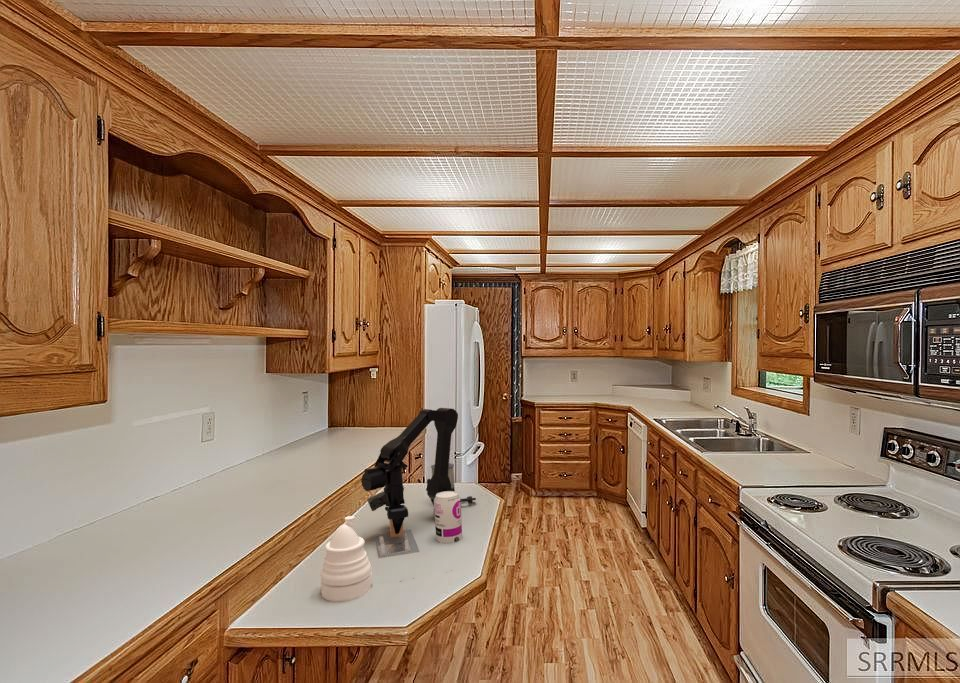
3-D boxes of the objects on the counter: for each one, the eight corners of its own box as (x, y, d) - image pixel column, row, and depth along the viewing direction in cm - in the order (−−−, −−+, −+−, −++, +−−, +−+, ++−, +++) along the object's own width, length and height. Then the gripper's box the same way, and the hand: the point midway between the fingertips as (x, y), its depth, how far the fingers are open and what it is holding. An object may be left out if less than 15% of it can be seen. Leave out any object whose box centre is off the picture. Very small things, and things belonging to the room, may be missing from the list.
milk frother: (430, 501, 206) (428, 464, 206) (468, 496, 211) (466, 459, 211) (438, 512, 192) (436, 472, 192) (478, 505, 197) (476, 467, 197)
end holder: (407, 543, 160) (407, 531, 160) (410, 551, 154) (410, 539, 154) (378, 547, 158) (377, 536, 158) (380, 556, 151) (379, 544, 151)
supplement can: (466, 538, 165) (464, 491, 165) (454, 548, 157) (452, 499, 157) (444, 535, 168) (441, 489, 168) (431, 545, 160) (428, 497, 161)
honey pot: (352, 573, 144) (348, 508, 144) (382, 585, 136) (378, 516, 136) (311, 592, 134) (307, 522, 134) (341, 606, 126) (337, 532, 126)
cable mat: (410, 532, 172) (410, 529, 172) (419, 555, 153) (419, 551, 153) (374, 538, 169) (374, 534, 169) (378, 562, 150) (378, 558, 150)
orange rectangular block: (402, 532, 170) (401, 514, 170) (403, 535, 167) (402, 517, 167) (390, 534, 169) (389, 515, 169) (391, 537, 166) (389, 518, 166)
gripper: (367, 479, 175) (369, 526, 175) (370, 494, 157) (373, 546, 157) (400, 475, 178) (402, 521, 178) (407, 490, 160) (409, 540, 160)
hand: (396, 531), depth 168 cm, fingers closed on orange rectangular block, 3 cm apart
